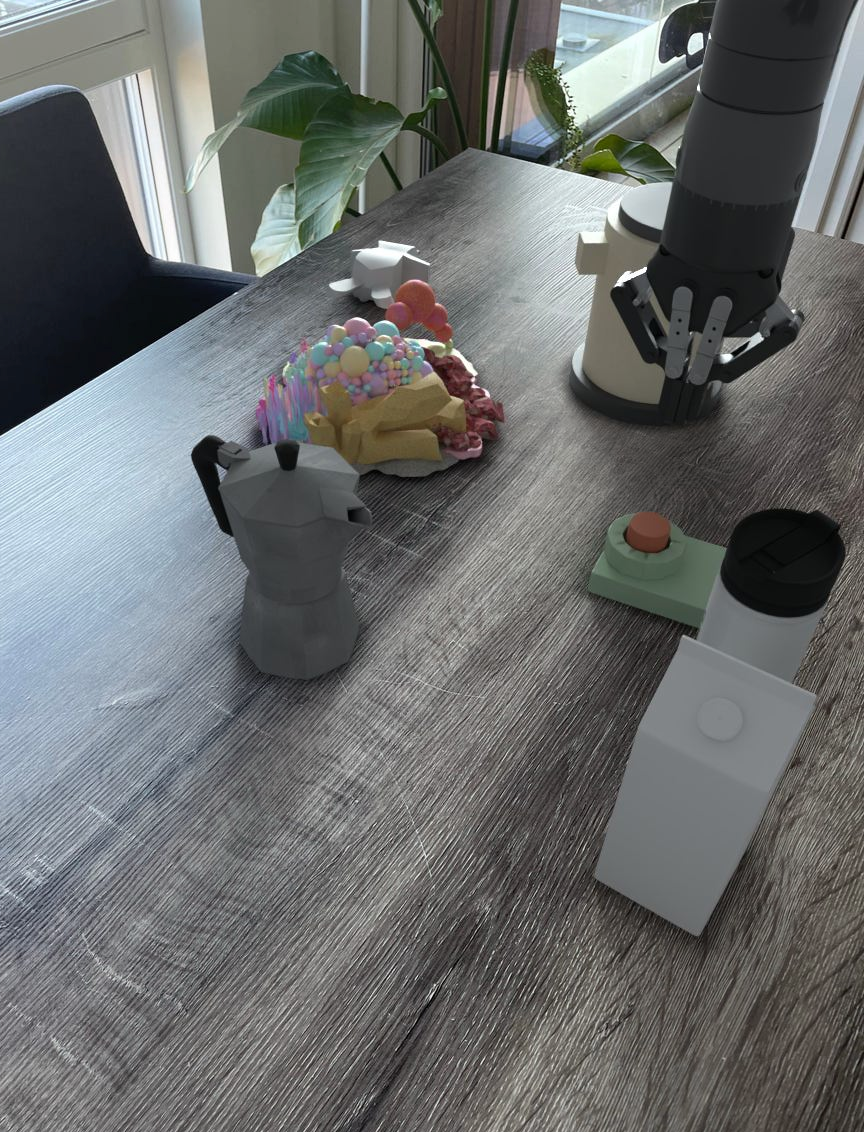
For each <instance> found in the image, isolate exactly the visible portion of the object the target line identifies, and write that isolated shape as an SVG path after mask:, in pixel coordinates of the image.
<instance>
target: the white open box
mask: <svg viewBox="0 0 864 1132" xmlns="http://www.w3.org/2000/svg"><path fill="white" fill-rule="evenodd" d="M419 257H420V250H419V249H418V248H417V247H416V246H413V245H406V244H400V243H395V242H390V241H385V240H378V246H377V247H374V248H363V249H362V248H361V249H352V250H350V252H349V271H350V272H351V276H350V278H345V279H341V280H338V281H333V282H331V283H329V284H328V286H327V288H326V290H325V293H324V297H325V298H329V299H339V298H342V297H344V296H346V295H348V294H350V293H352V295H353V297H354V298H358V300H359V301H361V302H365V303H366V302H368V301H373V302H374V303H375V305H376V307H379V308H380V309H385V310H387V309H388V308H389V307H390V305H392V304H394V303H395V296H396V293H397V291H398V289H399V288H400V286H401V285H403V284H404V283H406V282H408V281H410V280H420V281H422V282H425V283H427V284H428V285H429V282H430V275H431V274H430V273H431V263H429V262H428V261H427V262H426V261H425V260H422V259H420V258H419Z"/></svg>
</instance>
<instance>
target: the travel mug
mask: <svg viewBox="0 0 864 1132" xmlns="http://www.w3.org/2000/svg"><path fill="white" fill-rule="evenodd" d="M841 527H842V525H841V524H840V523H839V522H837V521H836V520H834V519H833V518H831V517H830V516H828V515H826V514H825V513H823V512H822V511H820V510H819V509H818V508H817V509H814V510H813V511H810V512H806V511H803V510H799V509H793V508H785V507H784V508H783V507H782V508H781V507H780V508H778V507H776V508H768V509H763V510H758V511H754V512H753V513H751V514H749V515H747V516H745V517H744V518H742V519H741V520H740V521H739V522H738V523H737V524H736V525H735V527H734V528H733V530H732V532H731V535H730V537H729V541H728V543H727V547H726V548H727V549H726V552H725V557H724V559H723V561H722V563H721V565H720V567H719V571H718V575H717V577H716V580H715V583H714V586H713V589H712V592H711V595H710V598H709V601H708V604H707V607H706V610H705V613H704V616H703V619H702V622H701V626H700V628H698V632H697V635H696V638H695V640H697V641H699V642H701V643H703V644H705V645H708V646H710V647H712V648H714V649H716V650H719V651H721V652H723V653H725V654H727V655H730V656H732V657H734V658H736V659H738V660H741V661H743V662H745V663H747V664H749V665H752V666H754V667H756V668H758V669H761V670H763V671H765V672H767V673H769V674H772V675H774V676H776V677H778V678H780V679H783V680H785V681H787V682H789V683H791V684H793V682H794V679H795V677H796V675H797V672H798V670H799V668H800V666H801V664H802V661H803V659H804V657H805V655H806V652H807V650H808V648H809V647H810V643H811V642H812V639H813V636H814V635H815V632H816V630H817V628H818V625H819V623H820V621H821V619H822V616H823V615H824V612H825V608H826V607H827V605H828V602H829V600H830V598H831V597H830V596H831V592H832V590H833V589H834V587H835V585H836V581H837V579H838V577H839V575H840V573H841V570H842V568H843V567H844V563H845V561H846V557H847V556H846V555H847V554H846V552H847V551H846V545H845V542H844V540H843V539H842V536H841V535H840V534H839V533H840V530H841Z"/></svg>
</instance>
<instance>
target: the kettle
mask: <svg viewBox="0 0 864 1132" xmlns="http://www.w3.org/2000/svg"><path fill="white" fill-rule="evenodd" d="M672 183H673V181H662V182H660V181H659V182H654V183H653V182H651V183H646V184H642V185H638V186H636V187H633V188H631V189H629V190H628V191H626V192H625V193H623V195H622V196H621V198H619V199H617V200H616V201H614V202H613V203H612V204H611V205H610V207H609V208H608V209H607V212H606V217H605V221H604V222H605V223H604V228H603V231H579V232H578V239H577V245H576V250H575V258H574V265H575V268H576V271H577V274H578V275H579V276H595V282H594V288H593V295H592V299H591V305H590V311H589V318H588V324H587V329H586V334H585V335H586V336H585V341H584V342H583V343H581V344H580V345H579V347H577V348H576V349H575V352H574V354H573V356H572V359H571V365H570V371H569V384H570V388H571V390H572V391H573V393H574V395H575V396H576V398H578V400H580V402H581V403H583V404H584V405H585V406H586V407H588V408H590V409H592V411H595V412H597V413H598V414H600V415H602V416H604V417H607V418H610V419H612V420H615V421H618V422H621V423H627V424H629V425H636V426H642V427H643V426H645V427H673V426H675V425H672V424H668V423H664V418H665V415H664V414H661V413H659V409H658V404H659V400H660V396H661V392H662V387H663V383H664V379H665V372H664V370H663V369H662V368H661V367H660V366H659V365H657V364H656V363H654V364H648V363H646V362H644V361H643V359H642V357H641V355H640V353H639V351H638V349H637V348H636V346H635V344H634V342H633V340H632V338H631V336H630V334H629V332H628V330H627V328H626V326H625V324H624V322H623V320H622V318H621V317H620V315H619V313H618V311H617V309H616V307H615V305H614V303H613V301H612V299H611V297H610V292H611V290H612V288H613V287H614V285H615V284H616V282H617V281H618V280H619V278H620V277H621V276H622V275H623V274H624V273H625V272H627V271H631V272H634V273H635V272H637V271H640V270H642V269H644V268H646V267H647V264H648V262H649V260H650V259H651V258H652V256H653V255H654V253H655V252H656V251H657V250H658V247H659V244H660V240H661V235H662V230H663V226H664V221H665V217H666V212H667V207H668V202H669V198H670V193H671V188H672ZM795 238H796V231H795V229H794V228H793V227H792V226H791V229H790V232H789V236H788V239H787V242H786V246H785V249H784V252H783V255H782V259H781V262H780V266H779V274H780V278H781V282H782V280H783V277H784V274H785V271H786V267H787V264H788V261H789V258H790V255H791V252H792V249H793V248H792V247H793V244H794V241H795ZM651 290H652V287H651ZM649 300H650V302H651V304H652V306H653V308H654V310H655V312H656V314H657V316H658V318H659V320H660V322H661V324H662V326H663V328H664V330H665V332H666V334H667V336H668V334H669V328H670V322H669V321H668V320H667V319H666V318H665V316H664V314H663V312H662V310H661V307H660V305H659V303H658V301H657V299H656V296H655V294H654V292H653V290H652V295H651V297H650V299H649ZM764 317H766V312H765V311H764V312H763V313H761V314H760V315H759V316H757V317H756V318H755V319H753V320H752V321H751V322H749V323H748V324H747V325H745V326H744V327H743V328H741V329H740V330H739V331H737V332H736V333H735V334H733V335H730V336H727V337H725V339H737V338H738V339H742V338H746V339H747V338H748V339H749V338H751V337H752V336H754V335H755V334H757V333H758V332H759V327H760V325H761V323H762V321H763V319H764ZM701 337H702V334H700V333H698V332H696V334H695V339H694V345H693V350H692V356H691V359H690V363H689V366H690V367H692V365H693V362H694V359H695V356H696V351H697V348H698V345H699V343H700V340H701ZM724 343H725V340H724V341H723V343H722V346H721V349H720V351H719V354H718V355H721V352H722V349H723V346H724ZM723 385H724V383H722V382H721V381H720V380H718V381H711V382H709V384H708V388H707V392H706V395H705V399H704V402H703V406H702V409H701V410H700V412H699V414H698V416H697V418H696V419H695V420H694V421H695V422H696V421H697V420H699V419H702V418H704V417H706V416H707V415H708V414H709V413H711V412H712V411H713V410H714V409H715V407H716V406H717V405H718V402H719V399H720V395H721V392H722V390H723V389H722V388H723ZM694 421H693V422H694ZM689 423H691V422H690V421H687V422H686V424H689Z"/></svg>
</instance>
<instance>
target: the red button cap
mask: <svg viewBox="0 0 864 1132" xmlns="http://www.w3.org/2000/svg"><path fill="white" fill-rule="evenodd" d="M634 514H635V515H634V516H633V517H632V518H631V519H630V523H629V527H628V531H627V535H626V541H627V543H628V545H629V546H630V547H632V548H633V549H634V550H637V551H640V552H644V553H659V552H661V551H662V550H664V548H665V547H666V545H667V541H668V538H669V534H670V530H671V525H670V523H669V521H670V520H669V519H668V518H666V517H665V516H663V515H662V514H660V513H658V512H657V513H656V512H653V511H639V512H638V513H634ZM668 520H669V521H668Z"/></svg>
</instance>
